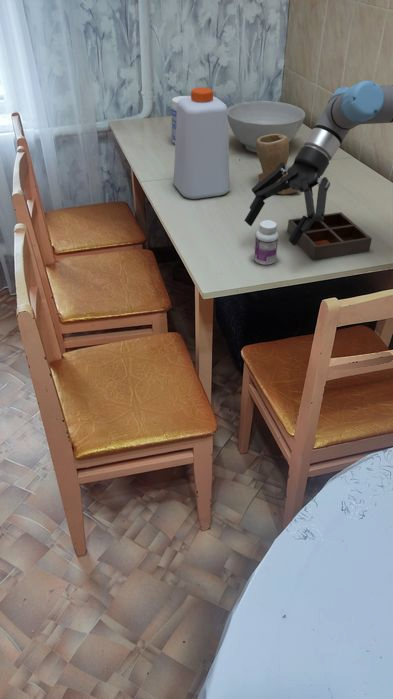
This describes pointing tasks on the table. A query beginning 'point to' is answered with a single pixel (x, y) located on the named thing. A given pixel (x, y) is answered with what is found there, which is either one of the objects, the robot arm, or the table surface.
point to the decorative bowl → (264, 120)
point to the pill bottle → (266, 243)
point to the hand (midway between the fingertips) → (269, 233)
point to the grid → (331, 237)
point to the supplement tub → (175, 115)
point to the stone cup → (273, 155)
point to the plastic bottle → (201, 146)
